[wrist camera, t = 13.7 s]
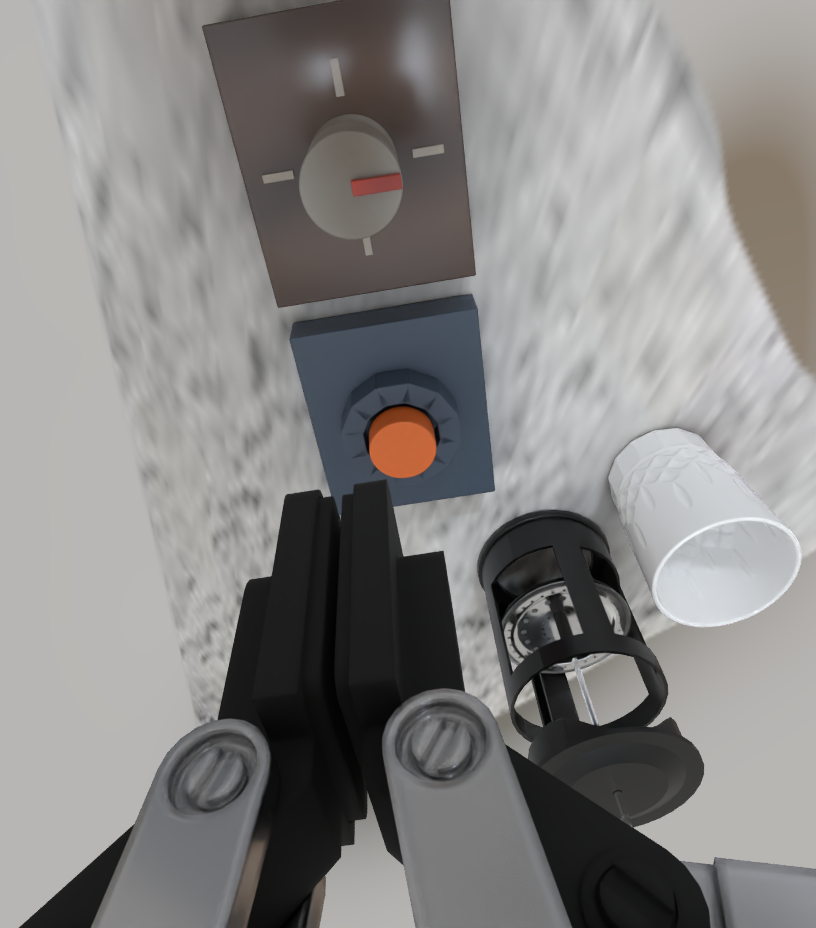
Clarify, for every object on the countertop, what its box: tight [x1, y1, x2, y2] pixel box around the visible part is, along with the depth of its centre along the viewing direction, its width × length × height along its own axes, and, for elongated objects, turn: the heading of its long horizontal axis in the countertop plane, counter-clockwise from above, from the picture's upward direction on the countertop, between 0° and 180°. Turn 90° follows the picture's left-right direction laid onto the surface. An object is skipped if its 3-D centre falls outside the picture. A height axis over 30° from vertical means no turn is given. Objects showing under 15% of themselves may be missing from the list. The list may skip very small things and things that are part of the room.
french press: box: [478, 510, 704, 827], centre depth 39 cm, size 12×9×23 cm
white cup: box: [608, 428, 802, 627], centre depth 40 cm, size 8×8×10 cm
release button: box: [369, 406, 437, 478], centre depth 37 cm, size 4×4×2 cm
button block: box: [290, 294, 495, 515], centre depth 39 cm, size 12×10×4 cm
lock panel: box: [202, 0, 476, 308], centre depth 32 cm, size 12×10×3 cm
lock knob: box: [299, 114, 403, 240], centre depth 28 cm, size 4×4×5 cm
